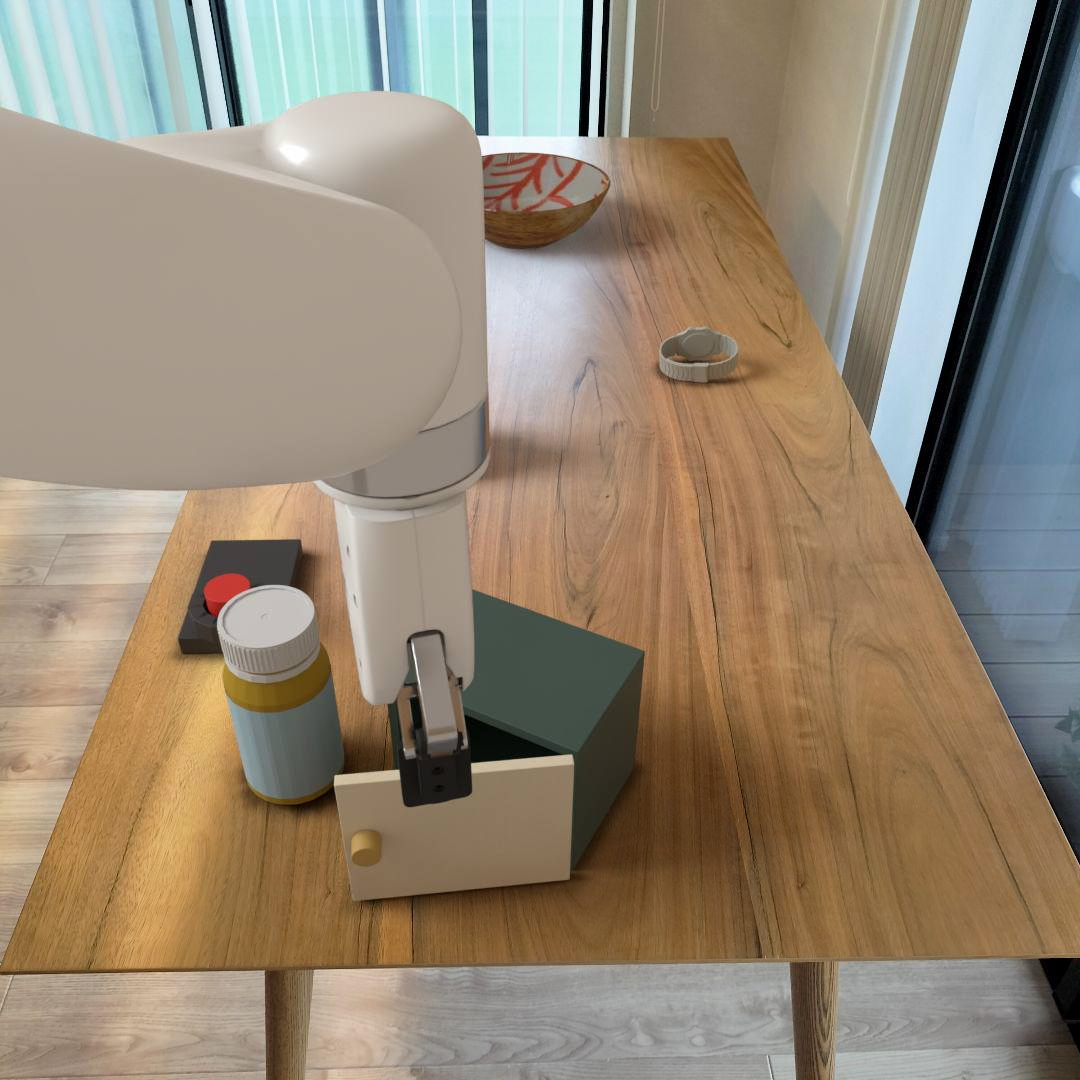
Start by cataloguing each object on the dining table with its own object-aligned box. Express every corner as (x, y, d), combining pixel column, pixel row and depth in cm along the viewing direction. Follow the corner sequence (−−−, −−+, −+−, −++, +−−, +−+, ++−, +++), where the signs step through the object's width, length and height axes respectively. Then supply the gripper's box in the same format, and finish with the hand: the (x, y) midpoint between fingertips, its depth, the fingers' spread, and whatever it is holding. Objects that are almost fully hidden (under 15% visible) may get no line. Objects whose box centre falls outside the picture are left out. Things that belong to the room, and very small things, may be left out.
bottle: (314, 721, 82) (287, 566, 73) (364, 777, 77) (342, 620, 68) (230, 766, 78) (190, 609, 69) (277, 827, 74) (241, 669, 65)
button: (249, 618, 86) (245, 601, 85) (203, 619, 86) (199, 602, 85) (256, 589, 89) (253, 573, 88) (212, 590, 89) (209, 573, 88)
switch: (279, 658, 87) (273, 626, 85) (179, 660, 87) (170, 628, 85) (303, 553, 98) (298, 522, 96) (214, 555, 98) (207, 523, 96)
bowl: (628, 261, 151) (631, 205, 146) (450, 275, 147) (448, 218, 142) (584, 198, 171) (586, 147, 166) (426, 209, 166) (423, 157, 162)
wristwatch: (735, 361, 128) (740, 322, 125) (737, 387, 123) (742, 347, 120) (657, 357, 129) (660, 318, 126) (657, 383, 124) (660, 343, 121)
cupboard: (572, 870, 71) (577, 752, 64) (396, 790, 76) (383, 673, 69) (634, 767, 78) (645, 650, 71) (469, 701, 84) (464, 585, 76)
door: (572, 898, 69) (578, 782, 62) (352, 920, 68) (333, 804, 61) (568, 869, 71) (572, 753, 64) (353, 890, 70) (334, 774, 63)
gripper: (288, 339, 49) (330, 620, 60) (318, 572, 36) (365, 882, 46) (451, 323, 51) (464, 600, 61) (537, 541, 37) (535, 848, 48)
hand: (421, 721), depth 54 cm, fingers open, 9 cm apart
